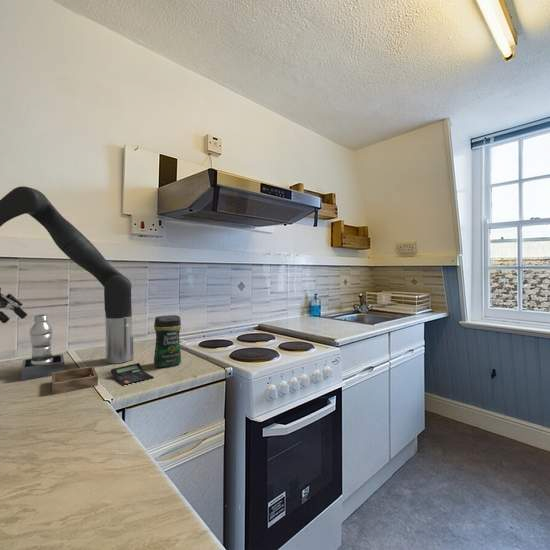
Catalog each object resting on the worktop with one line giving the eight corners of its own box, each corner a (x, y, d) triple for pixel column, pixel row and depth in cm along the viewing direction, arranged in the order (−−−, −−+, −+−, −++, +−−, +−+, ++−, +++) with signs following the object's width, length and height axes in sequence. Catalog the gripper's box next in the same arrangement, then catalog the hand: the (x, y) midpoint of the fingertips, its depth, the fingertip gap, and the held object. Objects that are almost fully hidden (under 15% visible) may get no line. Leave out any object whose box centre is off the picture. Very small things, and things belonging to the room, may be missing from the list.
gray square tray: (63, 364, 118) (62, 354, 118) (64, 373, 109) (64, 362, 109) (23, 370, 111) (23, 359, 111) (21, 380, 102) (21, 368, 102)
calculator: (124, 387, 98) (124, 377, 98) (110, 377, 106) (110, 368, 106) (153, 379, 105) (153, 370, 105) (138, 370, 113) (138, 362, 113)
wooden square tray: (93, 374, 108) (93, 366, 108) (97, 385, 99) (97, 376, 98) (52, 382, 101) (51, 372, 101) (52, 394, 92) (52, 384, 92)
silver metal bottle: (41, 376, 106) (40, 317, 105) (25, 375, 107) (23, 316, 106) (58, 370, 112) (57, 314, 111) (42, 368, 114) (41, 313, 113)
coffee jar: (156, 369, 113) (156, 318, 113) (152, 363, 120) (151, 315, 119) (183, 365, 119) (183, 316, 118) (178, 359, 125) (177, 313, 125)
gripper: (-31, 279, 100) (9, 314, 102) (3, 277, 114) (37, 308, 116) (-49, 296, 100) (-8, 331, 101) (-13, 291, 114) (22, 322, 116)
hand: (16, 319), depth 109 cm, fingers open, 8 cm apart
